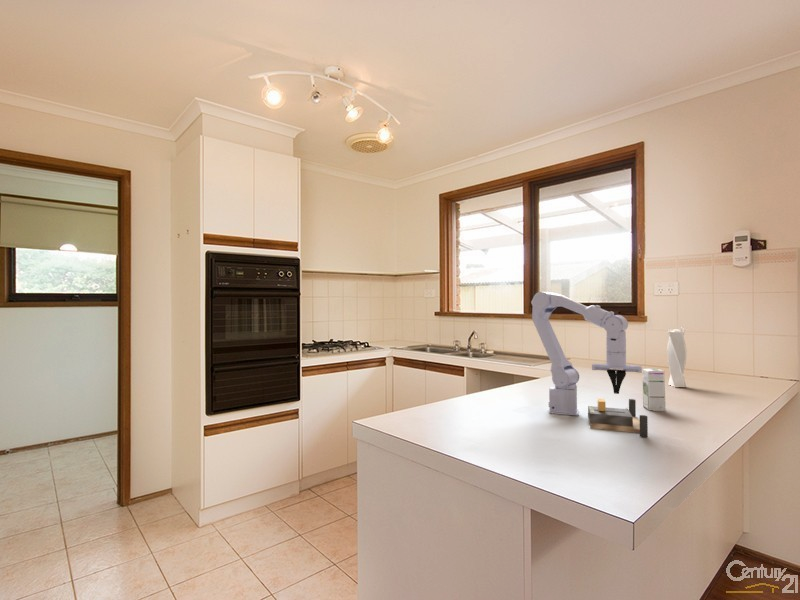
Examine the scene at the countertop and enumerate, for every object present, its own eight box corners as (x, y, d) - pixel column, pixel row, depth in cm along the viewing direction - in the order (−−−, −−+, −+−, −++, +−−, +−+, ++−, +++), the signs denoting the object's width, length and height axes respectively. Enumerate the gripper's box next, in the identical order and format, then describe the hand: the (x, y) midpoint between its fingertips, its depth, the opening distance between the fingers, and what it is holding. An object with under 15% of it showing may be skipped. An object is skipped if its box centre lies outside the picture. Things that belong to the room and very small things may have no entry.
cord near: (640, 437, 121) (640, 416, 121) (639, 435, 122) (639, 414, 123) (648, 438, 120) (648, 417, 120) (647, 436, 122) (646, 415, 122)
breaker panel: (590, 428, 130) (590, 415, 130) (587, 415, 144) (587, 404, 144) (645, 433, 124) (645, 419, 124) (637, 420, 138) (637, 407, 138)
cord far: (629, 417, 141) (629, 400, 141) (628, 416, 143) (628, 398, 143) (636, 418, 140) (635, 400, 140) (635, 416, 142) (635, 399, 142)
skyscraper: (691, 388, 188) (690, 326, 188) (674, 388, 188) (674, 326, 188) (679, 384, 196) (679, 325, 196) (663, 385, 196) (663, 325, 196)
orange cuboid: (598, 410, 134) (598, 401, 134) (597, 407, 138) (597, 398, 138) (605, 411, 133) (605, 401, 133) (604, 408, 137) (604, 398, 137)
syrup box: (666, 411, 149) (665, 371, 149) (648, 410, 150) (647, 370, 150) (659, 407, 154) (659, 368, 155) (642, 406, 156) (641, 368, 156)
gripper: (592, 352, 136) (592, 393, 136) (643, 354, 130) (643, 397, 130) (591, 349, 142) (591, 389, 142) (639, 351, 137) (640, 393, 137)
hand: (616, 393), depth 137 cm, fingers closed
